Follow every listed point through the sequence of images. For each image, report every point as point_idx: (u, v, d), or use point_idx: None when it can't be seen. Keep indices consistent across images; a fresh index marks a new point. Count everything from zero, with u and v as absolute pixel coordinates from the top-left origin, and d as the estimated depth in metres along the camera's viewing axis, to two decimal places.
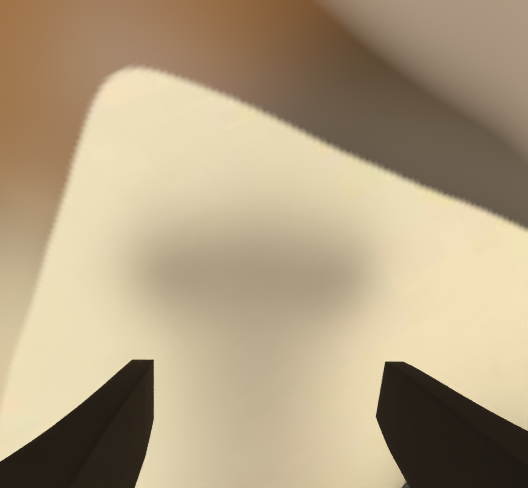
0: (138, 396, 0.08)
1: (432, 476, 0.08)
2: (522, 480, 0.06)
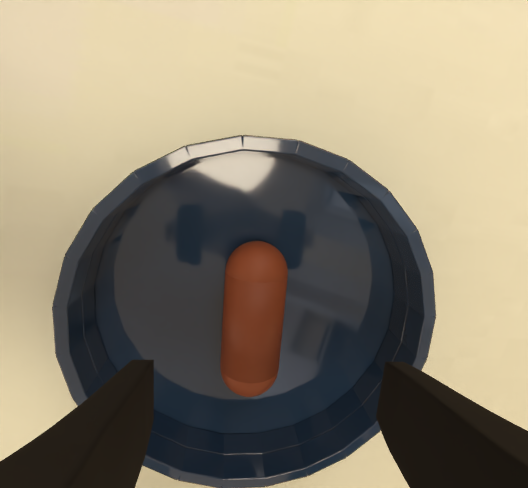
0: (138, 396, 0.08)
1: (432, 476, 0.08)
2: (522, 480, 0.06)
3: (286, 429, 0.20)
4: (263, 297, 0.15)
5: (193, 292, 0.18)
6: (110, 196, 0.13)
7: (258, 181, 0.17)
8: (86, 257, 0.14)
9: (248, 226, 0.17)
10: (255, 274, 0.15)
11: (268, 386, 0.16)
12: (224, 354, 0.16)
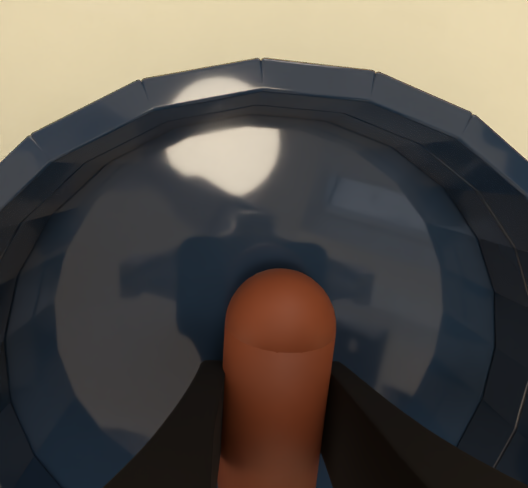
0: (222, 396, 0.08)
1: (349, 479, 0.08)
2: (408, 484, 0.06)
3: None
4: (296, 379, 0.08)
5: (173, 350, 0.11)
6: None
7: (283, 164, 0.10)
8: None
9: (265, 241, 0.10)
10: (282, 339, 0.08)
11: None
12: (223, 468, 0.09)
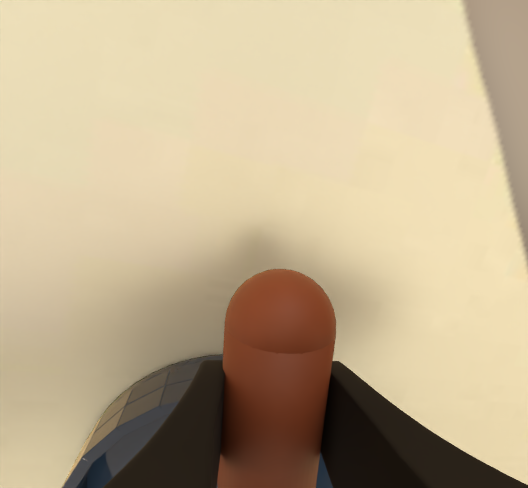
0: (222, 396, 0.08)
1: (349, 479, 0.08)
2: (408, 484, 0.06)
3: None
4: (296, 380, 0.08)
5: None
6: (97, 446, 0.16)
7: None
8: None
9: None
10: (282, 339, 0.08)
11: None
12: (223, 468, 0.09)
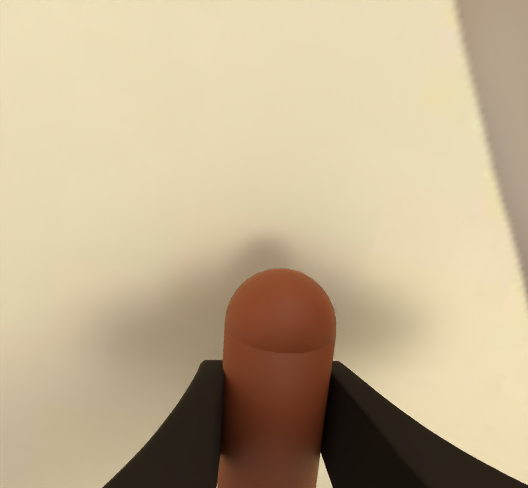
0: (222, 396, 0.08)
1: (349, 479, 0.08)
2: (408, 484, 0.06)
3: None
4: (296, 379, 0.08)
5: None
6: None
7: None
8: None
9: None
10: (282, 339, 0.08)
11: None
12: (223, 468, 0.09)
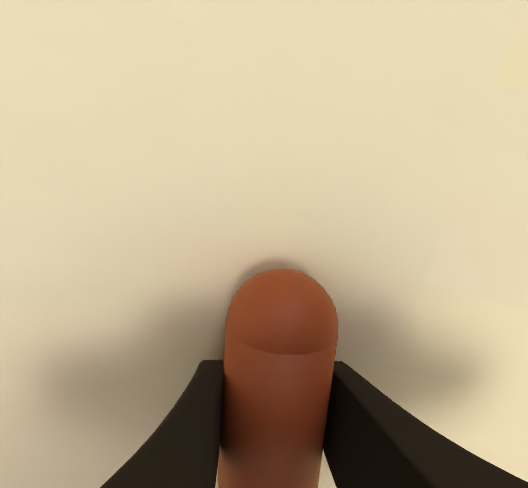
0: (220, 396, 0.08)
1: (353, 479, 0.08)
2: (413, 484, 0.06)
3: None
4: (299, 381, 0.08)
5: None
6: None
7: None
8: None
9: None
10: (284, 340, 0.08)
11: None
12: (225, 470, 0.09)
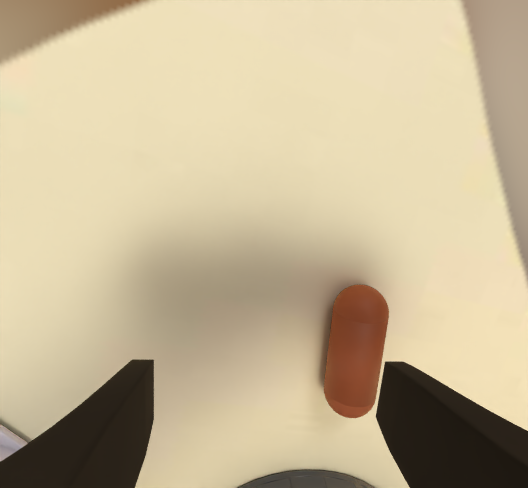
0: (138, 396, 0.08)
1: (432, 476, 0.08)
2: (522, 480, 0.06)
3: None
4: (378, 335, 0.18)
5: None
6: None
7: None
8: None
9: None
10: (373, 317, 0.17)
11: (372, 406, 0.19)
12: (337, 385, 0.19)
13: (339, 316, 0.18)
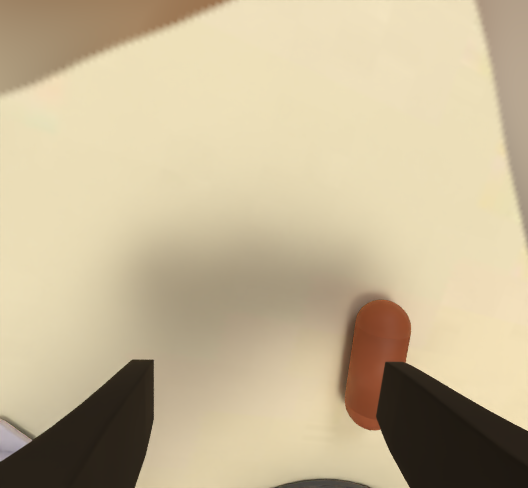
0: (138, 396, 0.08)
1: (432, 476, 0.08)
2: (522, 480, 0.06)
3: None
4: (403, 349, 0.18)
5: None
6: None
7: None
8: None
9: None
10: (400, 333, 0.18)
11: None
12: (363, 399, 0.19)
13: (365, 332, 0.18)
